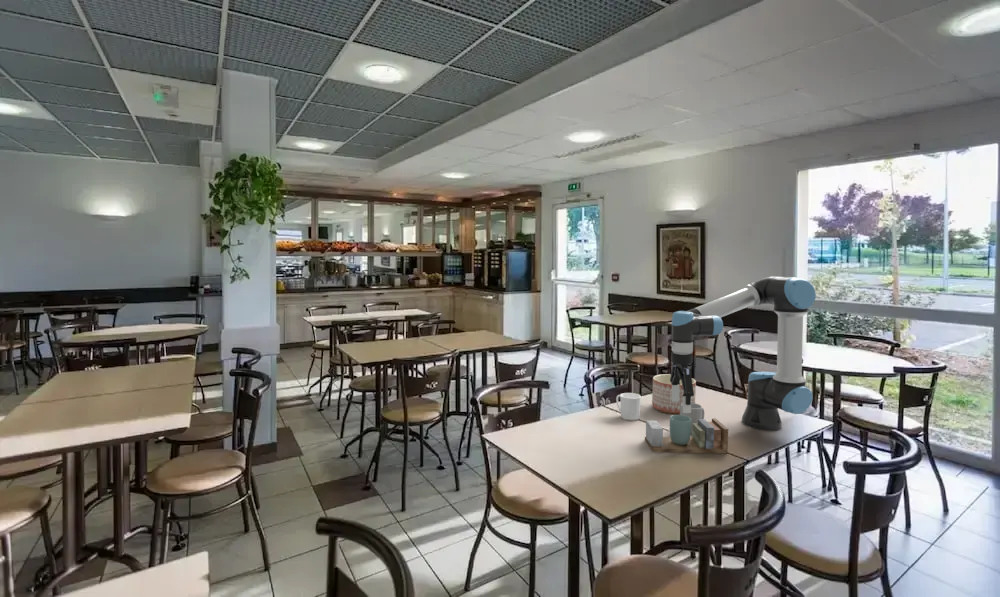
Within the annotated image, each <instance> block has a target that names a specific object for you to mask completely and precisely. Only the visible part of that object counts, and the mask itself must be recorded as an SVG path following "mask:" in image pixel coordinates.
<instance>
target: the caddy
mask: <svg viewBox="0 0 1000 597" xmlns="http://www.w3.org/2000/svg"><path fill="white" fill-rule="evenodd" d="M644 441H645V442H646V444H647V445H648V447H649V449H650V450H651V451H652V452H651V453H684V454H687V453H691V454H692V453H693V454H697V453H698V454H700V453H701V454H728V450H729V428H728V427H727V426H725V425H724V424H723V423H722V422H721V421H719V420H718V419H717V418H715V417H714V418H711V421H707V420H706V419H705V418H704V419H698V424H697V423H693V426H692V434H691V437H690V440H689V442H688V443H687V444H685V445H678V444H675V443H673V442H672V441H671V439H670V436H663V447H652V446H651V445H650V443H649V442H648V440H647V439H646V436H644Z"/></svg>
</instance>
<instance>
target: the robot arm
mask: <svg viewBox="0 0 1000 597" xmlns="http://www.w3.org/2000/svg"><path fill="white" fill-rule="evenodd" d="M816 294H817V293H816V289H815V287H814V285H813V284H812V283H811V282H810V281H809V280H808V279H806V278H800V277H797V276H796V277H795V276H793V277H792V276H777V275H776V276H769V277H764V278H761V279H758V280H755V281H754V282H751V283H748V284H745V285H744V286H743V287H742V289H739V290H736V291H735V292H732V293H729V294H727V295H725V296H721V297H718V298H717V299H714V300H712V301H709V302H707V303H704V304H702V305H699V306H697V307H694V308H691V309H689V310H678V311H674V312H672V316H671V343H670V347H671V351H672V352H671V357H670V358H671V360H670V361H671V362H672V367H671V372H670V374H671V377H670V382H671V384H672V402H679V385H680V382H679V381H680V380H681V381H682V386H683V391H684V394H683V395H682V396H683V413H691V396H694V391H693V384H692V377H693V376H692V369H691V368H688V365H690V364H692V363H693V358H694V357H693V356H694V355H693V352H694V337H704V336H705V337H706V336H707V337H708V336H709V337H712V336H718V335H720V334H722V332H723V329H724V322H723V320H722V318H723V317H726V316H728V315H730V314H733V313H735V312H736V313H737V312H738V311H742V310H744V309H745V308H748V307H755V308H756V307H757V306H760V305H761V306H762V305H773V312H774V313H775V314H776V315H777V344H776V345H777V347H776V348H777V350H776V351H777V352H776V353H777V354H776V355H777V356H776V372H775V371H772V372H771V371H752V372H749V375H748V380H747V403H746V406H745V409H744V411H743V414H742V417H741V423H742V424H743V425H745V426H746V427H749V428H752V429H755V430H762V431H778V430H781V429H782V420H781V416H780V413H779V410H781V411H784V412H786V413H790V414H792V415H801V414H803V413H804V412H806V411H807V410H808V409H809V408H810V406H811V404H812V402H813V400H814V397H813V396H814V395H813V392H812V390H811V389H810V388H808V387H807V380H806V378H805V377H804V376H803V374H802V372H803V371H802V370H803V336H804V329H803V328H804V316H805V315H806V314H808V312H809V308H811V307H812V305H814V304H813V303H815V301H816V298H817V297H816ZM688 392H689V393H688ZM778 409H779V410H778Z"/></svg>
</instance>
